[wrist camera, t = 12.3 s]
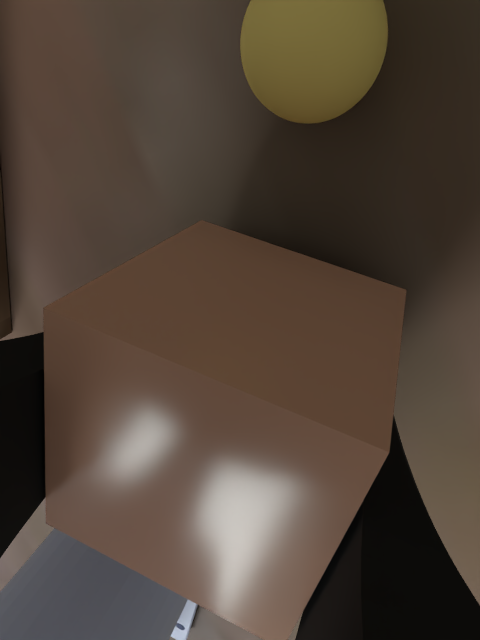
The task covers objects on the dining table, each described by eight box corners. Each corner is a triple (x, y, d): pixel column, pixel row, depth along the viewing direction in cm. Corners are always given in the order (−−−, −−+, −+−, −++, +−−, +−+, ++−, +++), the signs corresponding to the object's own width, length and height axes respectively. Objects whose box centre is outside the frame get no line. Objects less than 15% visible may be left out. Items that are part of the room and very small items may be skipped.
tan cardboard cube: (334, 448, 14) (281, 649, 9) (173, 379, 15) (46, 522, 10) (406, 289, 11) (388, 452, 6) (201, 220, 12) (43, 308, 7)
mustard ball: (365, 133, 11) (347, 147, 9) (253, 102, 12) (205, 107, 9) (415, -15, 10) (409, -50, 7) (282, -42, 10) (235, -83, 8)
